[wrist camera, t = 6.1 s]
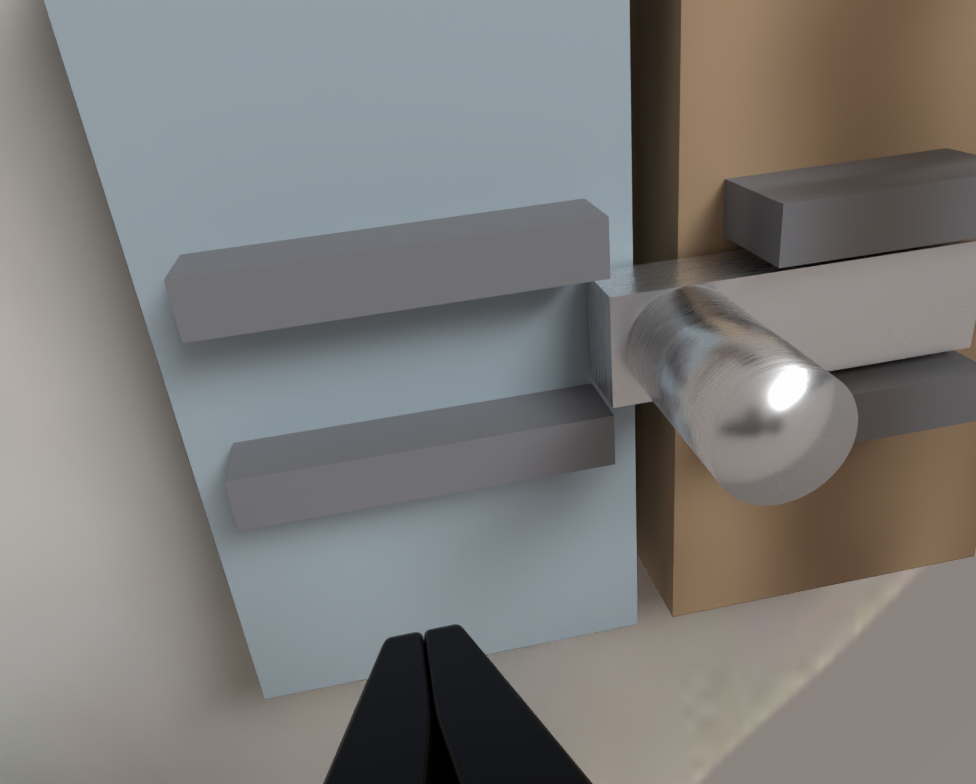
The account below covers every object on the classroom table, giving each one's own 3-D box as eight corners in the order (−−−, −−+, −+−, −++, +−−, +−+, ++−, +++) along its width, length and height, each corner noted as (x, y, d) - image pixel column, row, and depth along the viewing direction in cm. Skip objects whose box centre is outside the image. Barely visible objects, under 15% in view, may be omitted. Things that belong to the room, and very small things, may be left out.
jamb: (1027, -192, 17) (1300, -273, 12) (906, 498, 25) (1040, 613, 20) (625, -157, 16) (750, -229, 11) (635, 549, 24) (709, 684, 19)
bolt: (938, 220, 17) (1181, 305, 12) (921, 321, 18) (1138, 437, 13) (586, 272, 16) (694, 386, 11) (590, 375, 17) (691, 520, 12)
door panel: (578, -152, 16) (662, -209, 12) (604, 556, 24) (658, 667, 20) (62, -107, 15) (-45, -152, 11) (273, 619, 23) (259, 751, 19)
